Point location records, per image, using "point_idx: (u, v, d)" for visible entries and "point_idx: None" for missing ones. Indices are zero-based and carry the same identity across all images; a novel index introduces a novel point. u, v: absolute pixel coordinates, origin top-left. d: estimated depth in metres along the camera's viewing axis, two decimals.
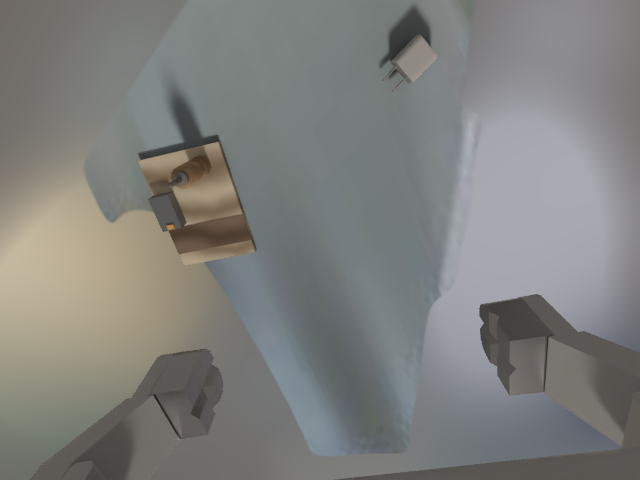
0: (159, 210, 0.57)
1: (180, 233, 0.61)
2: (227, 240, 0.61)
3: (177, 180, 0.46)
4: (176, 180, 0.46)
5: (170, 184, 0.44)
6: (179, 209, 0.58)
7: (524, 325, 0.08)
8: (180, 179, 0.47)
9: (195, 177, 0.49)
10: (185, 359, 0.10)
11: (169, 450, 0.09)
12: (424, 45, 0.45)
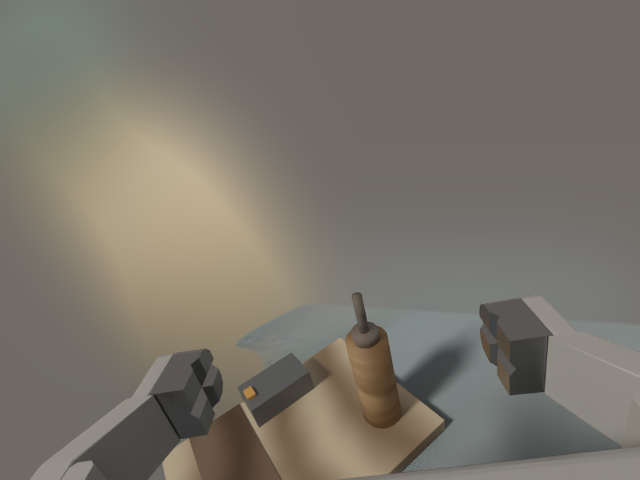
0: (275, 370, 0.33)
1: (235, 424, 0.31)
2: None
3: (365, 316, 0.24)
4: (365, 315, 0.24)
5: (359, 295, 0.24)
6: (284, 404, 0.31)
7: (524, 325, 0.08)
8: (366, 327, 0.25)
9: (377, 362, 0.24)
10: (185, 359, 0.10)
11: (169, 450, 0.09)
12: None
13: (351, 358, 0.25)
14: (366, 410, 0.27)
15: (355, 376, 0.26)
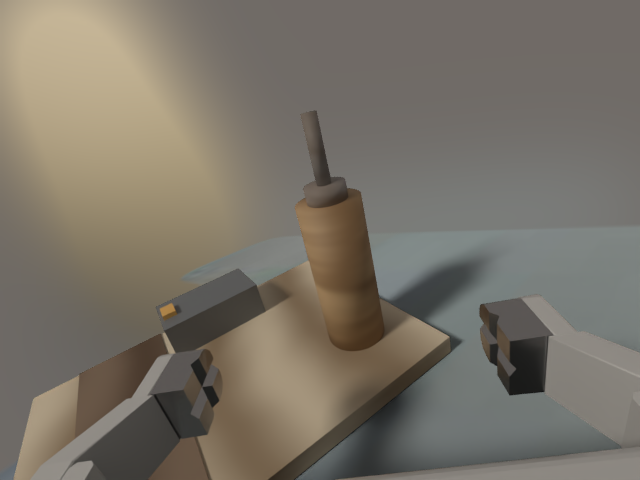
0: (212, 286, 0.23)
1: (147, 355, 0.21)
2: None
3: (324, 154, 0.15)
4: (324, 152, 0.15)
5: (312, 111, 0.14)
6: (218, 328, 0.22)
7: (523, 325, 0.08)
8: (326, 174, 0.15)
9: (343, 228, 0.15)
10: (185, 359, 0.10)
11: (169, 450, 0.09)
12: None
13: (303, 228, 0.16)
14: (330, 322, 0.18)
15: (311, 263, 0.17)
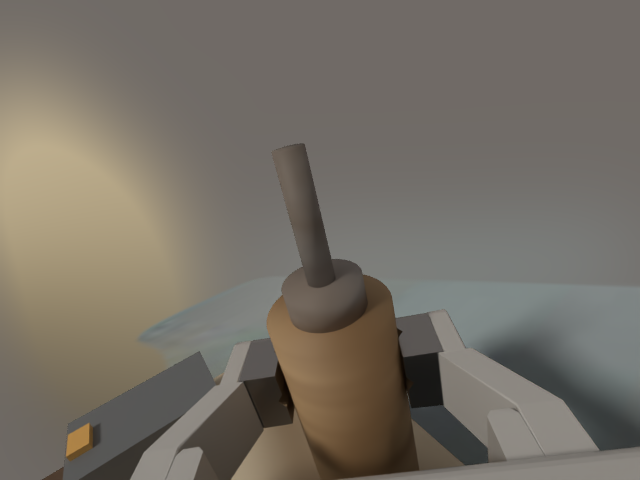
0: (156, 387, 0.16)
1: None
2: None
3: (322, 230, 0.08)
4: (321, 226, 0.08)
5: (297, 146, 0.07)
6: None
7: (421, 340, 0.08)
8: (326, 266, 0.08)
9: (360, 377, 0.07)
10: (266, 346, 0.09)
11: (255, 439, 0.09)
12: None
13: (281, 365, 0.08)
14: None
15: (299, 416, 0.09)
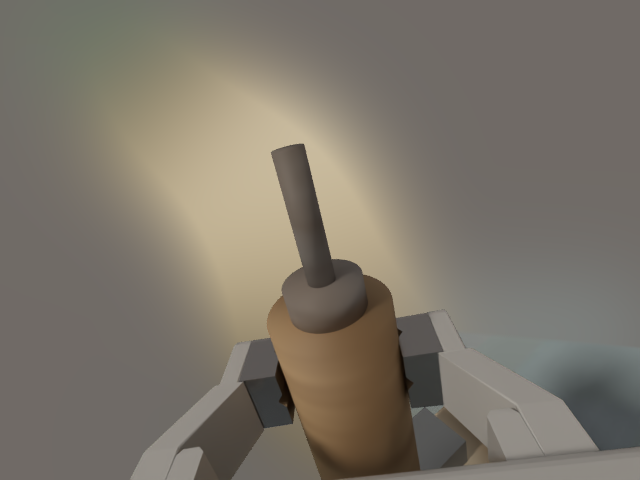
0: None
1: None
2: None
3: (322, 230, 0.08)
4: (322, 226, 0.07)
5: (296, 146, 0.07)
6: None
7: (421, 340, 0.08)
8: (327, 266, 0.08)
9: (361, 378, 0.07)
10: (266, 346, 0.09)
11: (255, 439, 0.09)
12: None
13: (282, 365, 0.08)
14: None
15: (300, 417, 0.09)
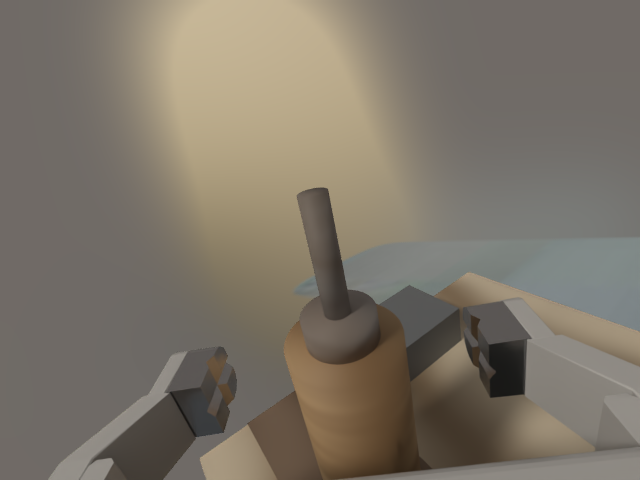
0: (393, 309, 0.19)
1: None
2: None
3: (341, 267, 0.08)
4: (341, 263, 0.08)
5: (321, 191, 0.07)
6: (420, 365, 0.17)
7: (503, 327, 0.08)
8: (343, 300, 0.08)
9: (374, 407, 0.08)
10: (200, 357, 0.10)
11: (185, 448, 0.09)
12: None
13: (298, 392, 0.09)
14: None
15: (311, 439, 0.10)
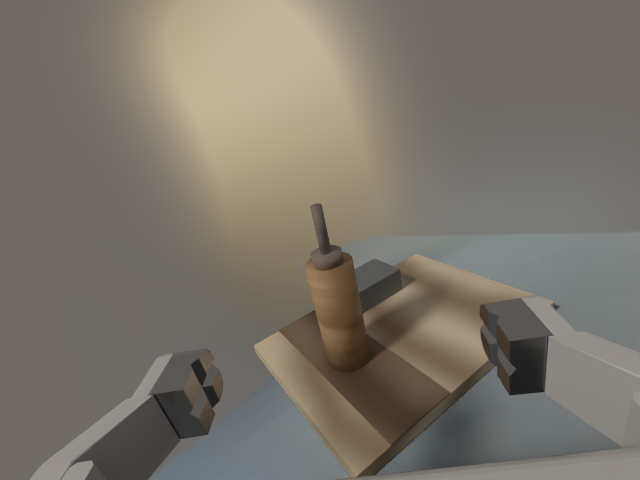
0: (363, 270, 0.32)
1: None
2: (354, 390, 0.22)
3: (327, 233, 0.21)
4: (326, 232, 0.21)
5: (318, 205, 0.21)
6: (376, 299, 0.30)
7: (524, 324, 0.08)
8: (328, 246, 0.21)
9: (339, 285, 0.21)
10: (185, 359, 0.10)
11: (169, 450, 0.09)
12: None
13: (310, 284, 0.22)
14: (329, 350, 0.24)
15: (316, 308, 0.23)
